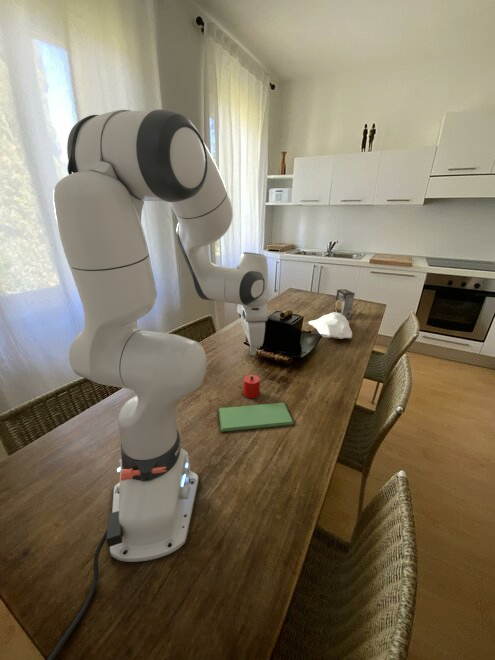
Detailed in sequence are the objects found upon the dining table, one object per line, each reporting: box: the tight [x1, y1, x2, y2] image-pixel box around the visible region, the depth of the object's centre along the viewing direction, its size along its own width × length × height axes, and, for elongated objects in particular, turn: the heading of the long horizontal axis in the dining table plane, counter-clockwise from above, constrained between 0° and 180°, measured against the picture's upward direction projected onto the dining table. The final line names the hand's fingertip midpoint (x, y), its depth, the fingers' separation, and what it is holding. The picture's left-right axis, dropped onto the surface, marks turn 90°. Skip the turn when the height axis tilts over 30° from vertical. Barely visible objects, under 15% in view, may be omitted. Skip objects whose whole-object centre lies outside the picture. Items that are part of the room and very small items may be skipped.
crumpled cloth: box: [307, 311, 353, 340], centre depth 148 cm, size 24×35×9 cm
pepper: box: [242, 374, 261, 399], centre depth 97 cm, size 6×6×7 cm
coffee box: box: [333, 289, 356, 320], centre depth 171 cm, size 9×6×16 cm
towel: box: [218, 402, 295, 433], centre depth 87 cm, size 10×22×1 cm, turn 100°
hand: (250, 347), depth 91 cm, fingers open, 8 cm apart
